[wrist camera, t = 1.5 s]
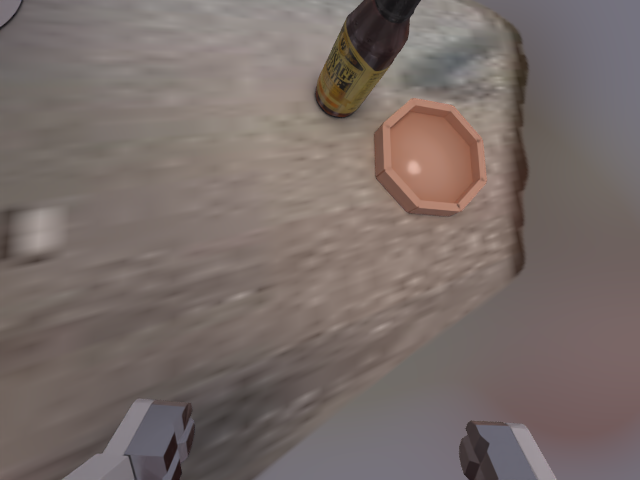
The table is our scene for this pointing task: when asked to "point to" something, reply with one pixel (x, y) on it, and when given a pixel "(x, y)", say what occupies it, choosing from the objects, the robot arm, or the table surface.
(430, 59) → the table surface
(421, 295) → the table surface
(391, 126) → the terracotta saucer
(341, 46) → the sauce bottle
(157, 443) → the robot arm
